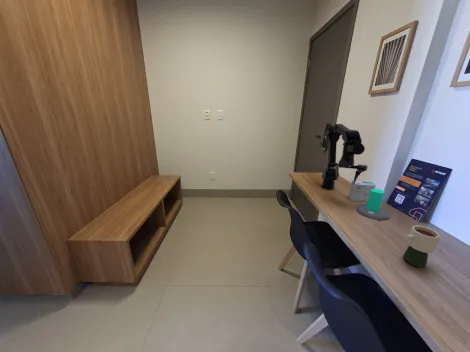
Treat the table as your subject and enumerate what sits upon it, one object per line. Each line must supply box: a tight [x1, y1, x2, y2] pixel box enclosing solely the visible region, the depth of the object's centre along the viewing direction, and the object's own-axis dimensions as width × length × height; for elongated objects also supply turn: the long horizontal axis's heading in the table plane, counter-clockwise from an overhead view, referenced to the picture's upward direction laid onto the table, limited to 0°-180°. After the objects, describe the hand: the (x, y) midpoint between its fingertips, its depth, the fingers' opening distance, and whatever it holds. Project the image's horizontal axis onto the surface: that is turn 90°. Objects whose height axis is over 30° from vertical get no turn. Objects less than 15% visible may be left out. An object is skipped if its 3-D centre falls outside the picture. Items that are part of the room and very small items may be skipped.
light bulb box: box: [348, 180, 376, 203], centre depth 119 cm, size 11×7×11 cm, turn 84°
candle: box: [366, 187, 385, 212], centre depth 103 cm, size 6×6×12 cm
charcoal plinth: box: [356, 202, 390, 221], centre depth 105 cm, size 14×14×2 cm
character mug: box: [402, 225, 441, 268], centre depth 70 cm, size 11×7×13 cm, turn 88°
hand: (344, 181), depth 112 cm, fingers open, 9 cm apart
